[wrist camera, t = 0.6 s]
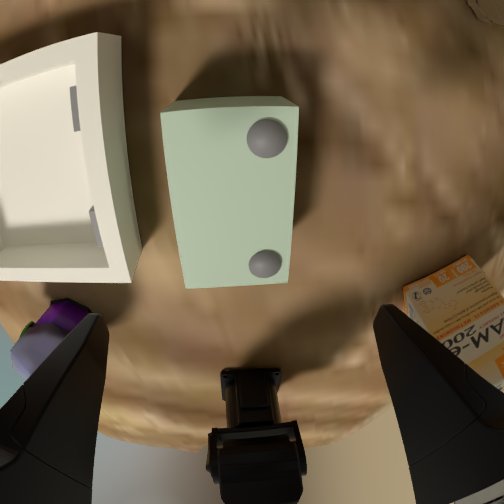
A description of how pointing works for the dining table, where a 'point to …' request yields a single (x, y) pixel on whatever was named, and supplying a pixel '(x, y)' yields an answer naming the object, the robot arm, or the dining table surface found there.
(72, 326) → the potion bottle
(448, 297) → the supplement box
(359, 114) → the dining table surface
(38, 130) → the cabinet carcass
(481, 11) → the handle
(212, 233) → the green box with knobs
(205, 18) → the dining table surface
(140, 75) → the dining table surface
